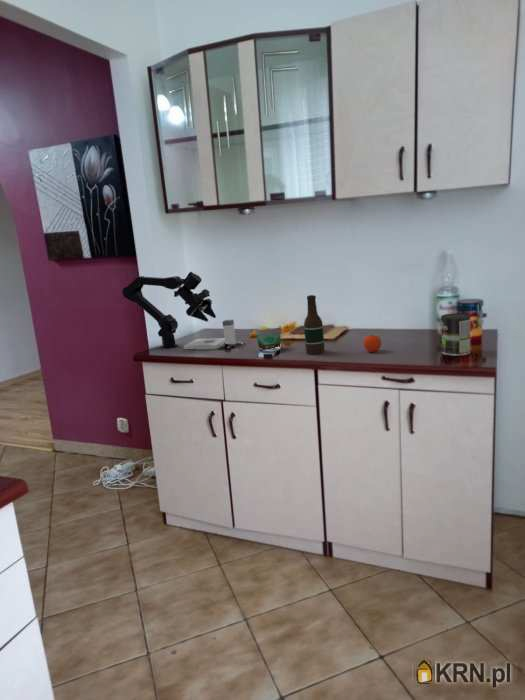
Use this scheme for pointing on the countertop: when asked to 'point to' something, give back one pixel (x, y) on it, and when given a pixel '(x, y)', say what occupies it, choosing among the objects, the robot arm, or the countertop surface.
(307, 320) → the beer bottle
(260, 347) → the food container
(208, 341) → the socket
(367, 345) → the clementine
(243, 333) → the countertop surface
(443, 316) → the coffee can
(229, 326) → the plug
